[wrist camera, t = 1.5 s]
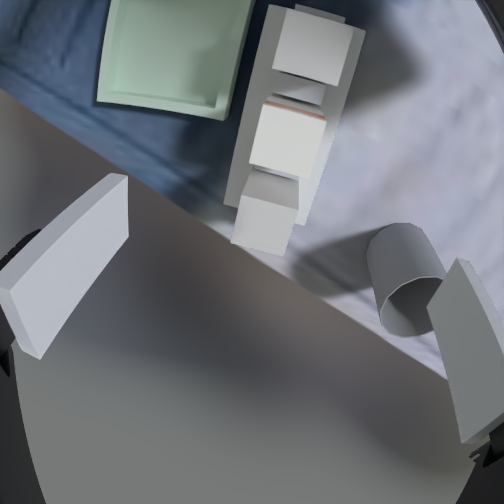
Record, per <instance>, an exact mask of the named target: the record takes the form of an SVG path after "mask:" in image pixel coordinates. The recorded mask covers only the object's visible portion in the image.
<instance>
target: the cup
mask: <svg viewBox="0 0 504 504" xmlns="http://www.w3.org/2000/svg"><path fill="white" fill-rule="evenodd" d="M366 259H367V265H368V270H369V274H370V278H371V282H372V286H373V290H374V294H375V299H376V303H377V308H378V312H379V317H380V322H381V325H382V326H383V327H384V328H385V329H386V330H387V332H388V333H389V334H392V335H395V336H398V337H401V338H410V337H420V336H422V335H425V334H427V333H430V332H432V331H434V329H433V326H432V323H431V319H430V316H429V313H428V310H427V308H426V307H427V305H428V303H429V302H430V300H431V299H432V297H433V296H434V294H435V293H436V291H437V289H438V288H439V286H440V285H441V283H442V281H443V280H444V278H445V276H446V275H447V273H446V271H445V269H444V267H443V265H442V263H441V261H440V259H439V257H438V256H437V254H436V252H435V250H434V248H433V246H432V245H431V243H430V241H429V239H428V238H427V236H426V235H425V233H424V232H423V230H422V229H421V228H419V227H417V226H415V225H413V224H411V223H394V224H392V225H390V226H387V227H385V228H383V229H381V230H380V231H379V232H378V233H377V234H376V235H375V236H374V237H373V238H372V239H371V240H370V242H369V245H368V248H367V251H366Z"/></svg>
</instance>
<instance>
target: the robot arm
mask: <svg viewBox="0 0 504 504" xmlns="http://www.w3.org/2000/svg"><path fill="white" fill-rule="evenodd" d="M475 1H476V3H477V4H478V6H479V8H480V9H481V11H482V13H483V14H484V16H485V18H486V20H487V22H488V23H489V25H490V27H491V29H492V31H493V33H494V35H495V37H496V39H497V41H498V43H499V45H500V47H501V49H502V51H503V53H504V0H475ZM128 234H129V233H128V176H125V175H119V174H114V173H110V174H109V175H107V176H106V177H105V178H103V179H102V180H101V181H99V182H98V183H97V184H96V185H94V186H93V187H92V188H91V189H89V190H88V191H87V192H86V193H85V194H83V195H82V196H81V197H80V198H78V199H77V200H76V201H75V202H74V203H72V204H71V205H70V206H69V207H68V208H67V209H66V210H64V211H63V212H62V213H61V214H59V215H58V216H57V217H56V218H55V219H54V220H53V221H52V222H50V224H48V225H47V226H46V227H45V228H44V229H43V230H41V229H38V230H36V231H34V232H32V233H30V234H28V235H26V236H25V237H24V238H23V239H22V240H21V241H20V242H18V243H17V244H16V246H15V247H13V248H12V249H11V250H10V251H9V252H8V255H5V256H4V257H3V258H2V259H1V260H0V504H46V503H45V500H44V497H43V494H42V491H41V488H40V485H39V482H38V479H37V476H36V472H35V469H34V465H33V462H32V458H31V454H30V451H29V446H28V442H27V438H26V433H25V429H24V424H23V420H22V414H21V409H20V403H19V396H18V390H17V383H16V375H15V367H14V356H13V350H12V347H11V344H12V342H13V341H14V339H15V338H16V340H17V341H18V344H19V346H20V348H21V350H22V351H24V352H26V353H28V354H30V355H32V356H34V357H36V358H38V359H41V357H42V356H43V355H44V353H45V351H46V350H47V348H48V347H49V345H50V344H51V342H52V341H53V339H54V338H55V336H56V334H57V333H58V332H59V330H60V328H61V327H62V326H63V324H64V323H65V321H66V320H67V318H68V317H69V315H70V314H71V312H72V311H73V310H74V308H75V307H76V305H77V304H78V303H79V301H80V300H81V298H82V297H83V296H84V294H85V293H86V291H87V290H88V289H89V287H90V286H91V285H92V283H93V282H94V281H95V279H96V278H97V277H98V275H99V274H100V273H101V271H102V270H103V269H104V267H105V266H106V265H107V263H108V262H109V261H110V260H111V258H112V257H113V256H114V254H115V253H116V252H117V251H118V249H119V248H120V247H121V246H122V244H123V243H124V242H125V241H126V239H127V238H128V237H129V235H128ZM426 308H427V310H428V313H429V316H430V319H431V323H432V326H433V329H434V332H435V335H436V339H437V342H438V345H439V349H440V352H441V356H442V359H443V363H444V367H445V370H446V374H447V378H448V382H449V386H450V390H451V394H452V399H453V403H454V408H455V412H456V417H457V422H458V427H459V433H460V438H461V443H462V444H466V443H476V442H478V441H480V440H481V439H482V438H484V437H485V436H487V435H488V434H489V436H490V441H489V442H487V443H486V444H484V445H483V446H481V447H480V448H478V449H477V450H475V451H474V452H472V453H471V454H470V456H469V457H470V458H472V457H474V456H475V455H477V454H478V453H479V454H480V456H479V457H477V458H476V459H474V460H473V461H474V462H476V464H475V467H474V469H473V471H472V473H471V475H470V477H469V479H468V481H467V483H466V485H465V487H464V489H463V491H462V493H461V495H460V497H459V499H458V501H457V502H456V504H504V325H503V323H502V321H501V319H500V317H499V314H498V312H497V310H496V308H495V306H494V305H493V303H492V301H491V299H490V297H489V295H488V293H487V291H486V289H485V287H484V286H483V284H482V282H481V280H480V278H479V277H478V275H477V273H476V271H475V270H474V268H473V266H472V264H471V263H470V262H469V261H466V260H463V259H460V258H456V259H455V261H454V263H453V265H452V266H451V268H450V270H449V271H448V273H447V275H446V276H445V278H444V280H443V281H442V283H441V285H440V286H439V288H438V289H437V291H436V293H435V294H434V296H433V297H432V299H431V300H430V302H429V303H428V305H427V307H426Z"/></svg>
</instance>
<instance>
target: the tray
mask: <svg viewBox="0 0 504 504" xmlns="http://www.w3.org/2000/svg"><path fill="white" fill-rule="evenodd" d="M255 2H256V0H111V5H110V10H109V15H108V20H107V26H106V32H105V38H104V44H103V51H102V58H101V66H100V74H99V83H98V93H97V101H100V102H110V103H119V104H127V105H135V106H142V107H149V108H156V109H162V110H168V111H174V112H180V113H186V114H191V115H197V116H202V117H207V118H212V119H217V120H221V121H224V120H225V119H226V118H227V117H228V116H229V112H230V107H231V102H232V98H233V93H234V89H235V84H236V80H237V75H238V71H239V67H240V62H241V58H242V54H243V50H244V46H245V41H246V37H247V33H248V29H249V25H250V21H251V17H252V13H253V9H254V6H255Z"/></svg>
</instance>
